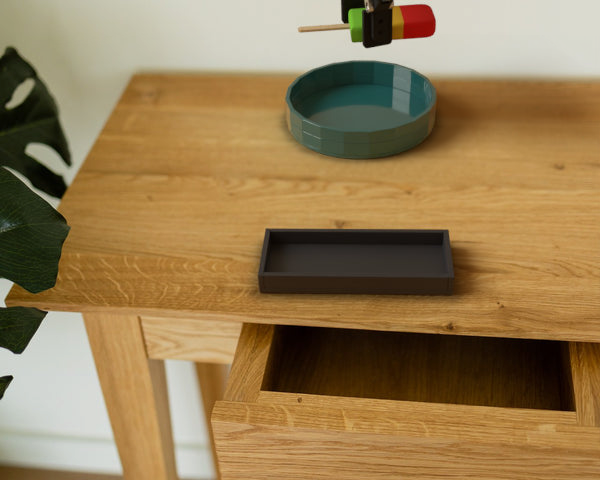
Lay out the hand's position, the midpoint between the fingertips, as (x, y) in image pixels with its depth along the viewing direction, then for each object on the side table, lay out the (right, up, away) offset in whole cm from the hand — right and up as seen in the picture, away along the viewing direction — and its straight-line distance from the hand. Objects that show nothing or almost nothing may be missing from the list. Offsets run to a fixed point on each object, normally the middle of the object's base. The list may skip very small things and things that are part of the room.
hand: (366, 31), depth 84 cm
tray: (-2, -27, -13) cm, 30 cm away
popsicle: (0, 0, 0) cm, 0 cm away
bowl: (0, -8, +8) cm, 11 cm away
